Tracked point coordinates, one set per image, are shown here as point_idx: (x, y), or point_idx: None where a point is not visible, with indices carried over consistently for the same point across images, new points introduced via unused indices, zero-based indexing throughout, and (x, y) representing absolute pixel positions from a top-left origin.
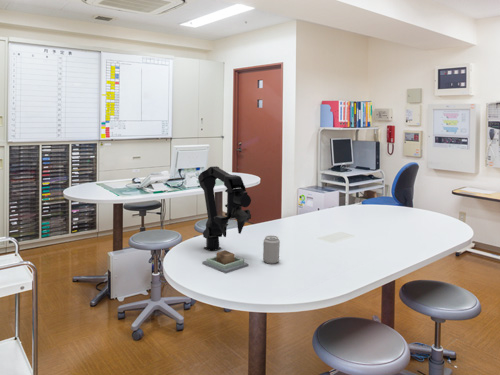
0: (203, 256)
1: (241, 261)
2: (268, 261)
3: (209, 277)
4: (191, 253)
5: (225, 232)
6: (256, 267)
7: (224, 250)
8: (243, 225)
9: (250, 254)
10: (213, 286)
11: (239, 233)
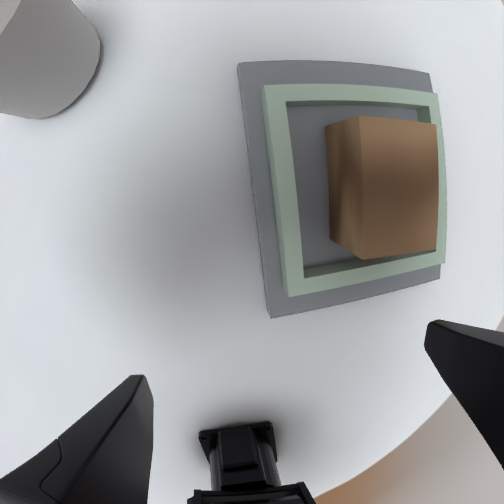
0: (357, 372)
1: (291, 85)
2: (94, 28)
3: (484, 101)
4: (365, 421)
5: (494, 334)
6: (211, 19)
7: (370, 255)
8: (37, 459)
9: (78, 264)
10: (492, 35)
11: (147, 383)
